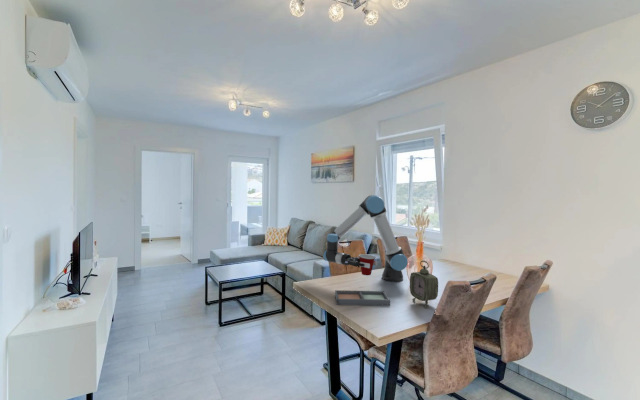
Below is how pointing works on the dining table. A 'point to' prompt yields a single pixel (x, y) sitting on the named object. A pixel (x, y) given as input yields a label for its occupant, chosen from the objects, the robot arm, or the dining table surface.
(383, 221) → the robot arm
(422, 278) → the tabletop clock
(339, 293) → the organiser tray
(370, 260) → the plastic cup
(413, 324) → the dining table surface
